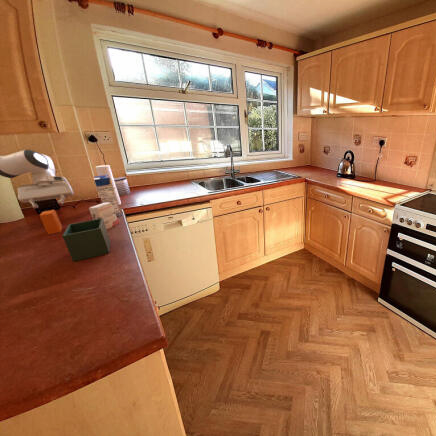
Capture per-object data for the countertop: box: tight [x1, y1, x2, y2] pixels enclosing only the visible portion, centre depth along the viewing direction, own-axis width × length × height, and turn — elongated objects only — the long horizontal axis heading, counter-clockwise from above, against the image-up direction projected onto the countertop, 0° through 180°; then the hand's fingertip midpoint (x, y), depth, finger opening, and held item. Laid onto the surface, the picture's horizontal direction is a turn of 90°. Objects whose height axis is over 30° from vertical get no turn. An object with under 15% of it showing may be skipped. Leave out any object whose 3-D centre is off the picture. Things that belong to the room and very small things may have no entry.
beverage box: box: [93, 175, 123, 218], centre depth 137 cm, size 7×11×22 cm, turn 39°
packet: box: [39, 209, 63, 235], centre depth 119 cm, size 4×6×10 cm
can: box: [114, 176, 131, 197], centre depth 181 cm, size 11×11×12 cm
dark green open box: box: [62, 218, 112, 263], centre depth 99 cm, size 11×13×11 cm
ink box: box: [88, 202, 120, 230], centre depth 122 cm, size 9×5×12 cm, turn 168°
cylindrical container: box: [95, 164, 122, 206], centre depth 154 cm, size 7×7×25 cm
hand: (48, 205), depth 121 cm, fingers open, 8 cm apart
